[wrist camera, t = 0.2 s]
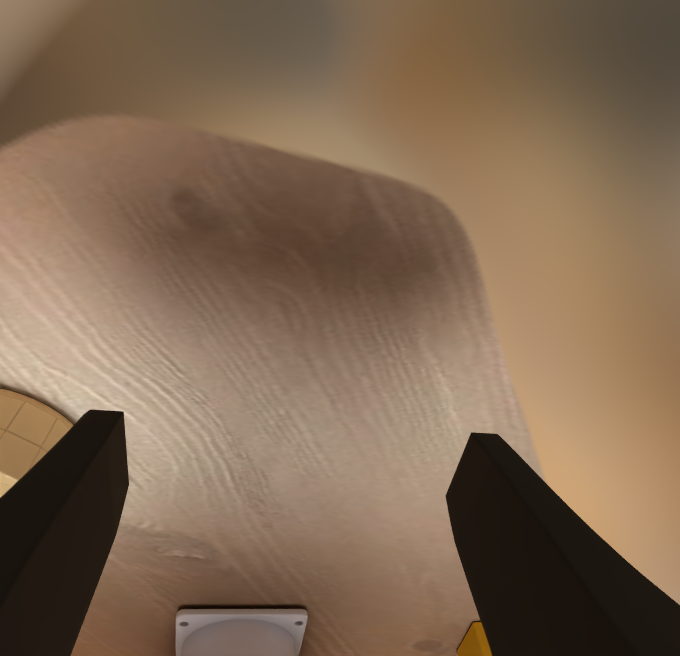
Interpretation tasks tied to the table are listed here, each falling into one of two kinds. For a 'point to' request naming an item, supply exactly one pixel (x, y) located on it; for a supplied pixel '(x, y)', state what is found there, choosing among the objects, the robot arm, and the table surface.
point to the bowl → (25, 435)
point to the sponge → (475, 642)
